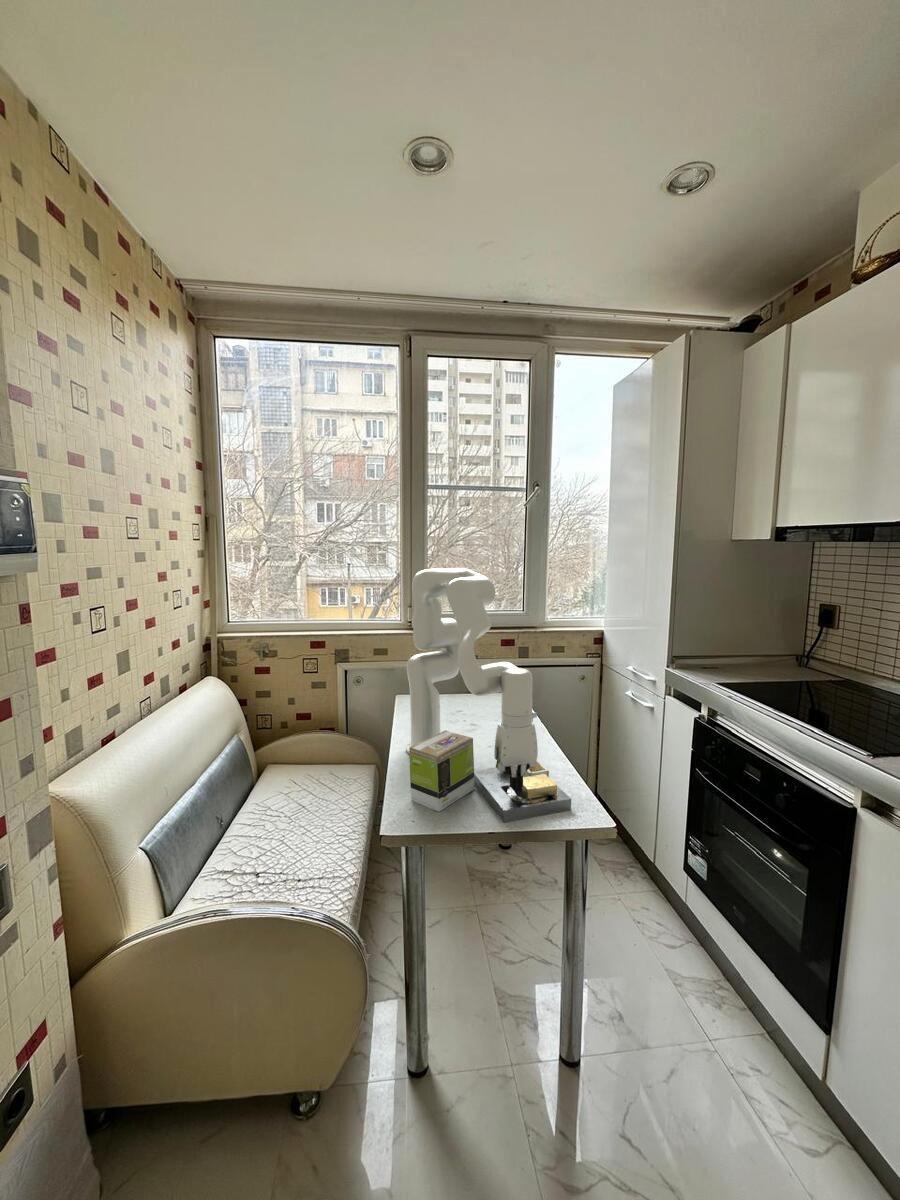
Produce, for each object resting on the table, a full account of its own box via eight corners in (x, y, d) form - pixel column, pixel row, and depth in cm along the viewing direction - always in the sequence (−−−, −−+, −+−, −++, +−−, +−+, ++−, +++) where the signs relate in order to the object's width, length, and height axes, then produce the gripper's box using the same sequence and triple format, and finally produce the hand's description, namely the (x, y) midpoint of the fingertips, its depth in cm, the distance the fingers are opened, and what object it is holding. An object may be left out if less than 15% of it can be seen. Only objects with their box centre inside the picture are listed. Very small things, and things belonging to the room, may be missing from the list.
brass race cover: (516, 786, 127) (516, 778, 127) (544, 782, 130) (544, 773, 129) (527, 798, 121) (527, 789, 121) (556, 793, 124) (557, 784, 123)
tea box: (446, 779, 139) (446, 728, 137) (475, 790, 133) (475, 737, 131) (409, 800, 127) (408, 745, 126) (438, 813, 121) (438, 755, 120)
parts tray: (514, 765, 141) (514, 758, 140) (531, 762, 142) (531, 755, 142) (530, 781, 131) (530, 773, 131) (548, 778, 132) (548, 770, 132)
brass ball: (525, 771, 136) (525, 759, 135) (537, 770, 137) (537, 758, 136) (531, 777, 132) (531, 764, 132) (543, 775, 133) (543, 763, 133)
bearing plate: (472, 781, 138) (472, 770, 137) (531, 772, 143) (531, 762, 143) (503, 822, 117) (503, 810, 116) (571, 810, 122) (571, 798, 122)
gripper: (537, 711, 128) (536, 779, 129) (482, 717, 123) (483, 787, 125) (551, 720, 120) (550, 792, 122) (494, 727, 116) (494, 801, 118)
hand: (516, 789), depth 124 cm, fingers closed
